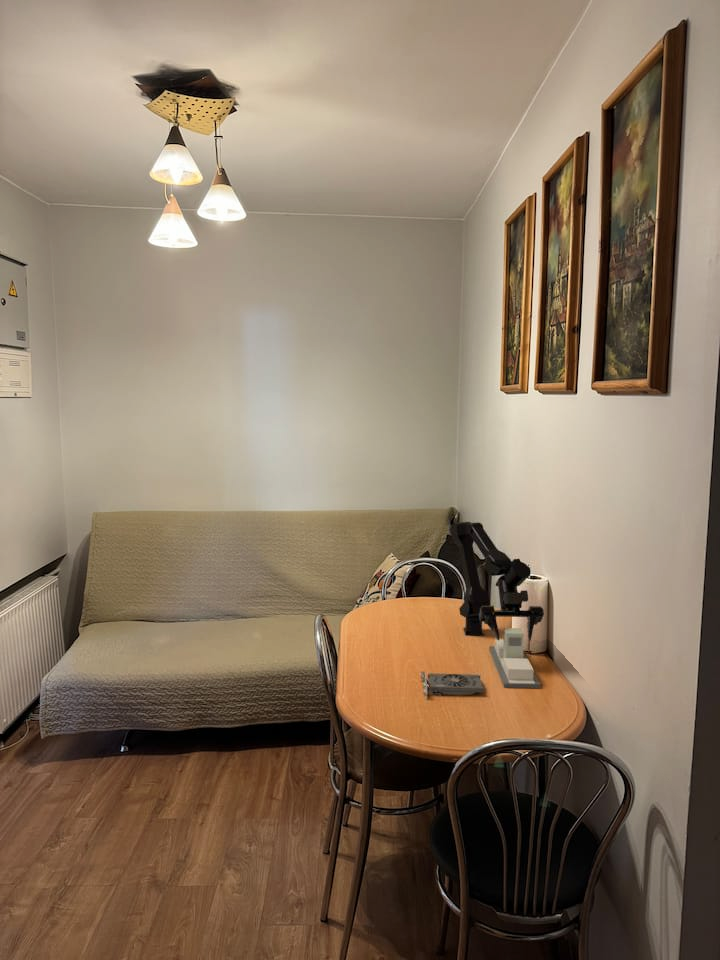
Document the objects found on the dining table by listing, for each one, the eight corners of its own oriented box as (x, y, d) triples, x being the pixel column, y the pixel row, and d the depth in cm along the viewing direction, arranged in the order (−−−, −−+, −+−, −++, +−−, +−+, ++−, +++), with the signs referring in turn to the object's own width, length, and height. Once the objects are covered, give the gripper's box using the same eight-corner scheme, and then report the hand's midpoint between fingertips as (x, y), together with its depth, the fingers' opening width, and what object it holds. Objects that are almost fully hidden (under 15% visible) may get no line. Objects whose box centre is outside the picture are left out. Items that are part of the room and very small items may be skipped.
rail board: (489, 649, 203) (489, 636, 202) (520, 650, 202) (520, 637, 202) (504, 687, 175) (504, 672, 174) (540, 688, 174) (540, 673, 174)
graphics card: (423, 688, 167) (421, 669, 179) (422, 702, 168) (420, 682, 180) (486, 690, 167) (480, 671, 179) (486, 704, 167) (479, 683, 179)
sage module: (503, 659, 191) (503, 628, 190) (519, 660, 190) (520, 628, 189) (505, 666, 186) (506, 633, 185) (523, 666, 186) (523, 633, 185)
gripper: (481, 580, 190) (485, 627, 180) (543, 580, 189) (551, 628, 179) (477, 597, 199) (481, 644, 189) (536, 598, 198) (544, 645, 188)
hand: (514, 640), depth 186 cm, fingers open, 9 cm apart
